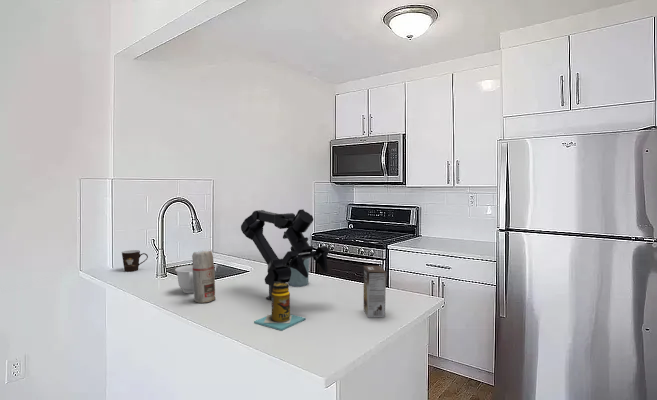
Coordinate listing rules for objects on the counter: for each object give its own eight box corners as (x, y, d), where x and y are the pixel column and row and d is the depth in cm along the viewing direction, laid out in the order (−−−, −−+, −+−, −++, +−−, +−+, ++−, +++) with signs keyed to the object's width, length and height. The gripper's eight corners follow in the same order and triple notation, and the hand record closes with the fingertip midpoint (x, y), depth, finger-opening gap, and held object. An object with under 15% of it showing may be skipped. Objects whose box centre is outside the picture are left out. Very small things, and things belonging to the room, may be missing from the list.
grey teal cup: (308, 287, 175) (308, 260, 174) (285, 287, 175) (285, 260, 175) (310, 281, 185) (310, 255, 185) (288, 281, 185) (288, 255, 185)
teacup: (175, 298, 158) (174, 273, 157) (175, 289, 171) (174, 266, 171) (207, 295, 162) (206, 271, 162) (204, 286, 176) (203, 264, 175)
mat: (254, 323, 131) (254, 321, 131) (278, 313, 141) (278, 311, 141) (281, 330, 124) (281, 328, 124) (305, 319, 134) (305, 317, 134)
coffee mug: (118, 272, 204) (117, 252, 204) (129, 268, 212) (128, 249, 212) (138, 272, 202) (138, 253, 202) (149, 269, 211) (148, 250, 210)
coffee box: (362, 309, 145) (362, 265, 144) (380, 308, 145) (380, 265, 145) (367, 317, 136) (367, 271, 135) (385, 317, 136) (386, 270, 136)
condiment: (289, 323, 128) (289, 287, 128) (263, 323, 129) (263, 286, 128) (292, 315, 136) (292, 281, 135) (267, 315, 136) (267, 281, 135)
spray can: (194, 304, 150) (194, 252, 149) (191, 299, 157) (190, 249, 156) (217, 301, 154) (217, 250, 153) (213, 296, 161) (212, 247, 160)
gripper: (307, 250, 158) (325, 283, 151) (267, 256, 145) (286, 292, 138) (320, 233, 152) (340, 266, 145) (280, 237, 139) (300, 274, 132)
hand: (317, 275), depth 140 cm, fingers open, 9 cm apart
